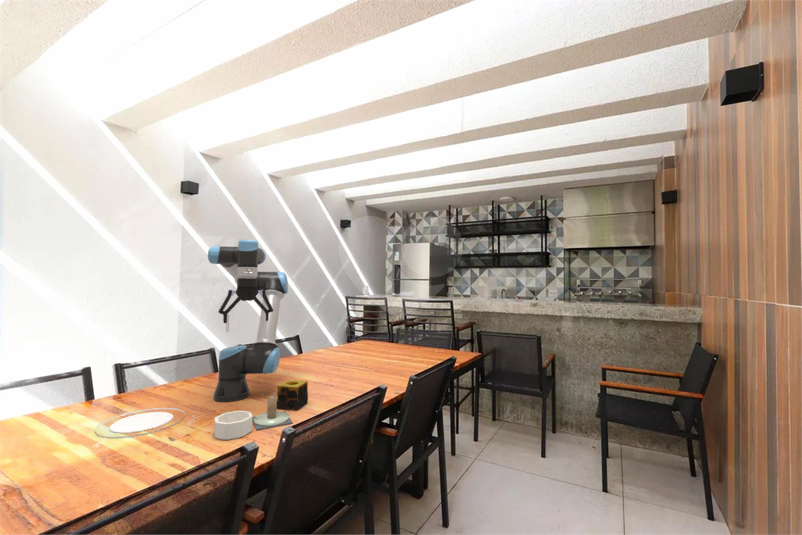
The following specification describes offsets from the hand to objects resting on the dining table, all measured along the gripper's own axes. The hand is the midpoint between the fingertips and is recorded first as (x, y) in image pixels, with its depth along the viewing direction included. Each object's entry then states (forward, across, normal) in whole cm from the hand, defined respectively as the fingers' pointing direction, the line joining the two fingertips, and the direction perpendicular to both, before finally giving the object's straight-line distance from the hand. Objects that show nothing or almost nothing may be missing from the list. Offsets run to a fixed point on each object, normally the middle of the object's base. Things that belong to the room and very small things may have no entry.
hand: (246, 330), depth 142 cm
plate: (+35, -34, +14) cm, 51 cm away
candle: (+35, +20, +4) cm, 41 cm away
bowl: (+35, -5, -13) cm, 37 cm away
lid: (+34, +9, -9) cm, 36 cm away
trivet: (+35, +9, -9) cm, 37 cm away
